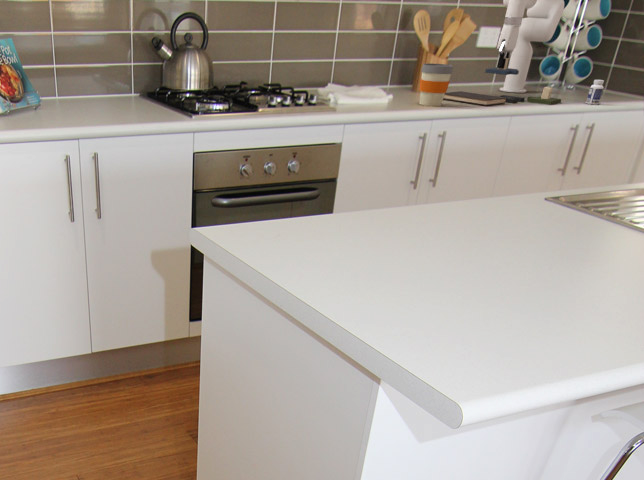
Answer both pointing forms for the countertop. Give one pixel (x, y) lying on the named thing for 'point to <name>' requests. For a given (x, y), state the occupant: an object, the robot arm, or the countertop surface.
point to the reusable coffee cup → (434, 83)
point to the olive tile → (543, 101)
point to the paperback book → (474, 98)
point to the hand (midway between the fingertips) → (502, 67)
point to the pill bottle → (595, 92)
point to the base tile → (512, 99)
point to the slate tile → (502, 70)
